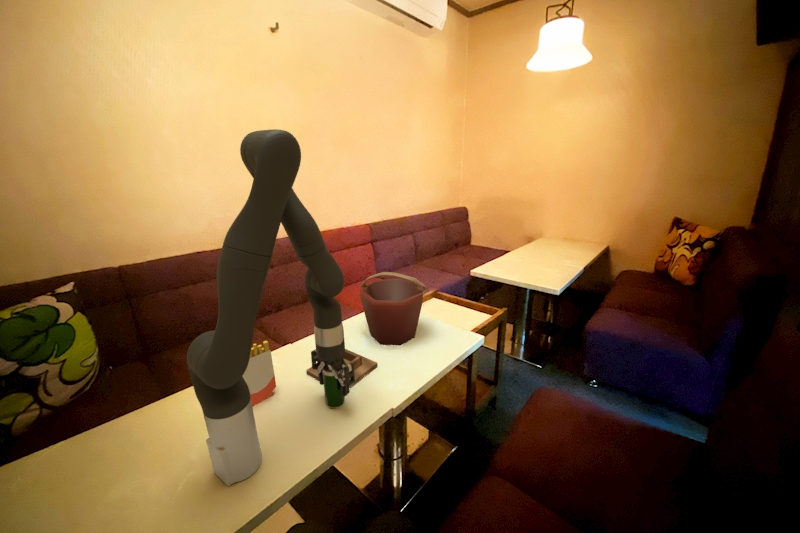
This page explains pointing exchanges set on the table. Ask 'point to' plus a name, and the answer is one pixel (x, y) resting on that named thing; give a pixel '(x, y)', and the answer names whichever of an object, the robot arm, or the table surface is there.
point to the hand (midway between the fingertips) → (334, 388)
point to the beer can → (332, 389)
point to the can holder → (359, 363)
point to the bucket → (392, 307)
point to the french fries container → (260, 373)
